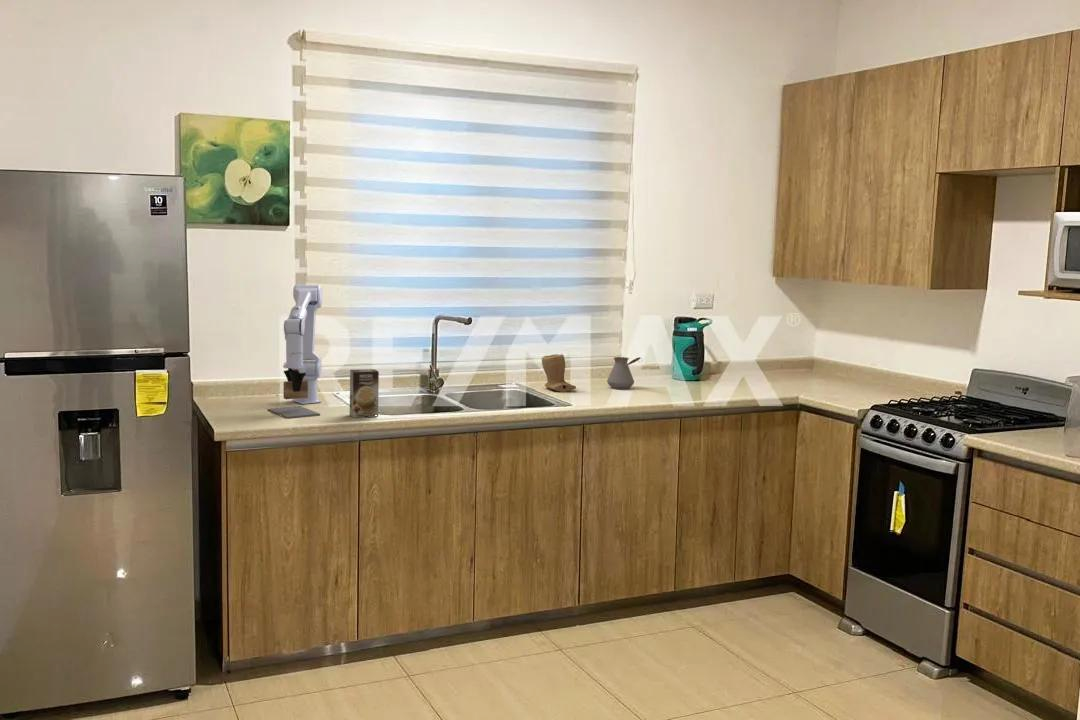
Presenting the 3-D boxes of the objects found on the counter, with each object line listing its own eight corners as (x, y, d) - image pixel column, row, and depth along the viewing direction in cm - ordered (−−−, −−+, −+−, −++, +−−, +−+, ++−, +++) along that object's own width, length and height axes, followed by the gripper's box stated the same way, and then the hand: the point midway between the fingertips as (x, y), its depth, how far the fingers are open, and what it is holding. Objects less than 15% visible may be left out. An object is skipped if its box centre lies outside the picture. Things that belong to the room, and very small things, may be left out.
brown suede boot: (537, 387, 422) (538, 352, 420) (563, 386, 426) (564, 351, 424) (549, 393, 408) (550, 356, 406) (576, 392, 411) (577, 356, 409)
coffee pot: (601, 386, 428) (602, 351, 426) (625, 385, 433) (626, 350, 431) (627, 394, 409) (628, 358, 407) (651, 392, 413) (652, 356, 412)
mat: (267, 410, 358) (267, 408, 358) (299, 407, 365) (299, 405, 365) (287, 418, 343) (287, 416, 343) (320, 415, 350) (320, 413, 350)
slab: (283, 398, 354) (283, 381, 353) (304, 396, 358) (304, 380, 358) (286, 399, 352) (286, 382, 351) (307, 397, 356) (307, 381, 356)
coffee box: (352, 417, 347) (352, 372, 345) (349, 414, 353) (349, 369, 351) (379, 416, 350) (378, 371, 348) (375, 413, 356) (375, 368, 354)
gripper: (275, 351, 356) (276, 388, 358) (291, 355, 345) (292, 394, 346) (294, 349, 360) (295, 387, 362) (311, 354, 349) (311, 392, 351)
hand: (294, 390), depth 355 cm, fingers closed on slab, 3 cm apart
